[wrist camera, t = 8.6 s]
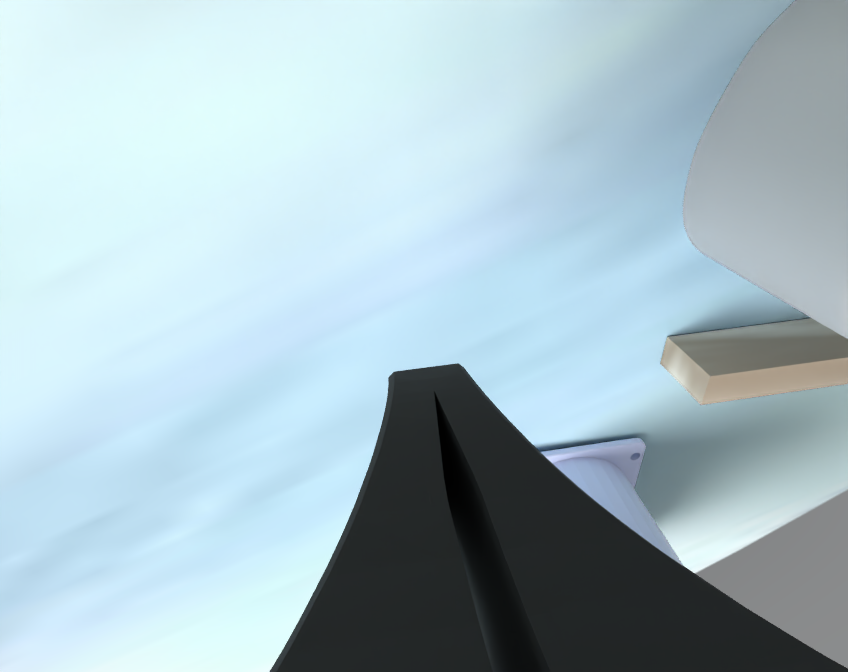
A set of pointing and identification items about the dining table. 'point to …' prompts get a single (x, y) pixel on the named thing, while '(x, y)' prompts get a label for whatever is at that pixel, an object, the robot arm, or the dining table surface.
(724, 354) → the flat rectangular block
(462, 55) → the dining table surface
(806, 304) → the lumpy-topped squat cylinder
